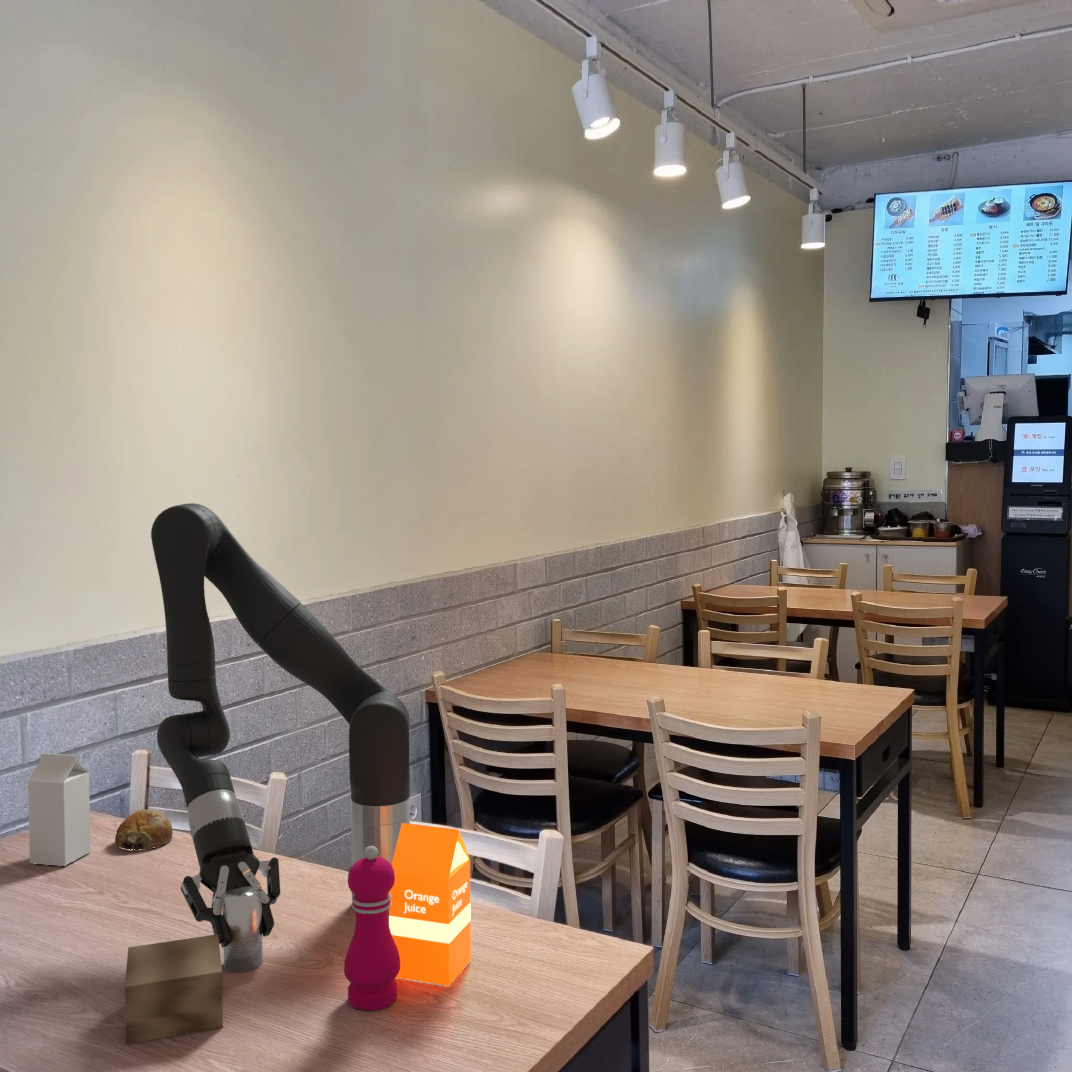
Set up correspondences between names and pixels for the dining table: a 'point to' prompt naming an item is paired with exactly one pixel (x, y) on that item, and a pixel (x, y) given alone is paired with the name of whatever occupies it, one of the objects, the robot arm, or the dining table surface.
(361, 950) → the pepper mill
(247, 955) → the shiny metal cylinder
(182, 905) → the dining table surface
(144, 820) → the bread roll
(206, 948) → the walnut block
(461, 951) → the orange juice
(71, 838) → the milk carton
